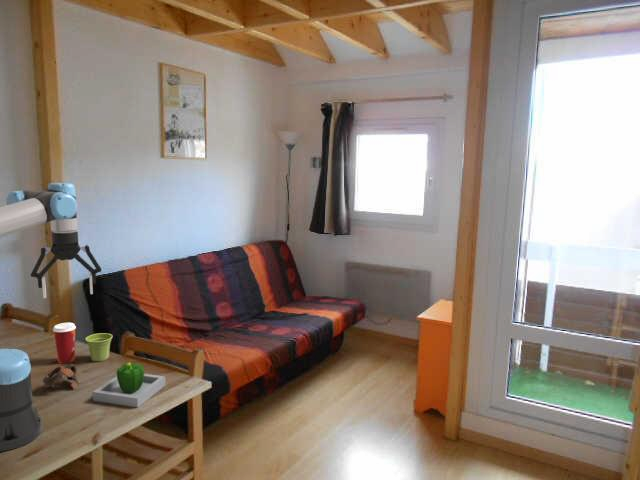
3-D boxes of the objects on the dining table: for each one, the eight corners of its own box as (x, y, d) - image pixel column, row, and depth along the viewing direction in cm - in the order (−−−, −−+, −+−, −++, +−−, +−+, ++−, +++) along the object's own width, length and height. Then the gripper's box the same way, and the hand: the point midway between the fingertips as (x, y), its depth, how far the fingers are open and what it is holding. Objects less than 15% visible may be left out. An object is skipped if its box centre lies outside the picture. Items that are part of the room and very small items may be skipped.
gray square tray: (137, 407, 147) (137, 398, 147) (93, 400, 151) (92, 391, 150) (165, 384, 162) (165, 376, 162) (124, 379, 166) (124, 371, 166)
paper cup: (82, 359, 182) (79, 324, 180) (62, 366, 175) (59, 330, 173) (70, 354, 186) (68, 320, 184) (50, 361, 180) (48, 326, 177)
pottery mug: (72, 395, 155) (56, 377, 152) (50, 405, 157) (33, 387, 154) (89, 371, 166) (75, 354, 163) (68, 380, 168) (53, 363, 165)
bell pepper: (127, 382, 161) (126, 354, 160) (149, 385, 160) (148, 357, 158) (111, 394, 153) (110, 364, 152) (134, 397, 151) (133, 367, 150)
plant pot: (108, 352, 190) (107, 331, 188) (117, 359, 183) (116, 337, 182) (83, 358, 183) (82, 336, 182) (92, 365, 176) (90, 343, 175)
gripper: (106, 228, 161) (109, 288, 164) (20, 231, 150) (25, 296, 153) (107, 231, 154) (110, 294, 158) (17, 234, 143) (22, 302, 146)
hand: (68, 295), depth 155 cm, fingers open, 13 cm apart
